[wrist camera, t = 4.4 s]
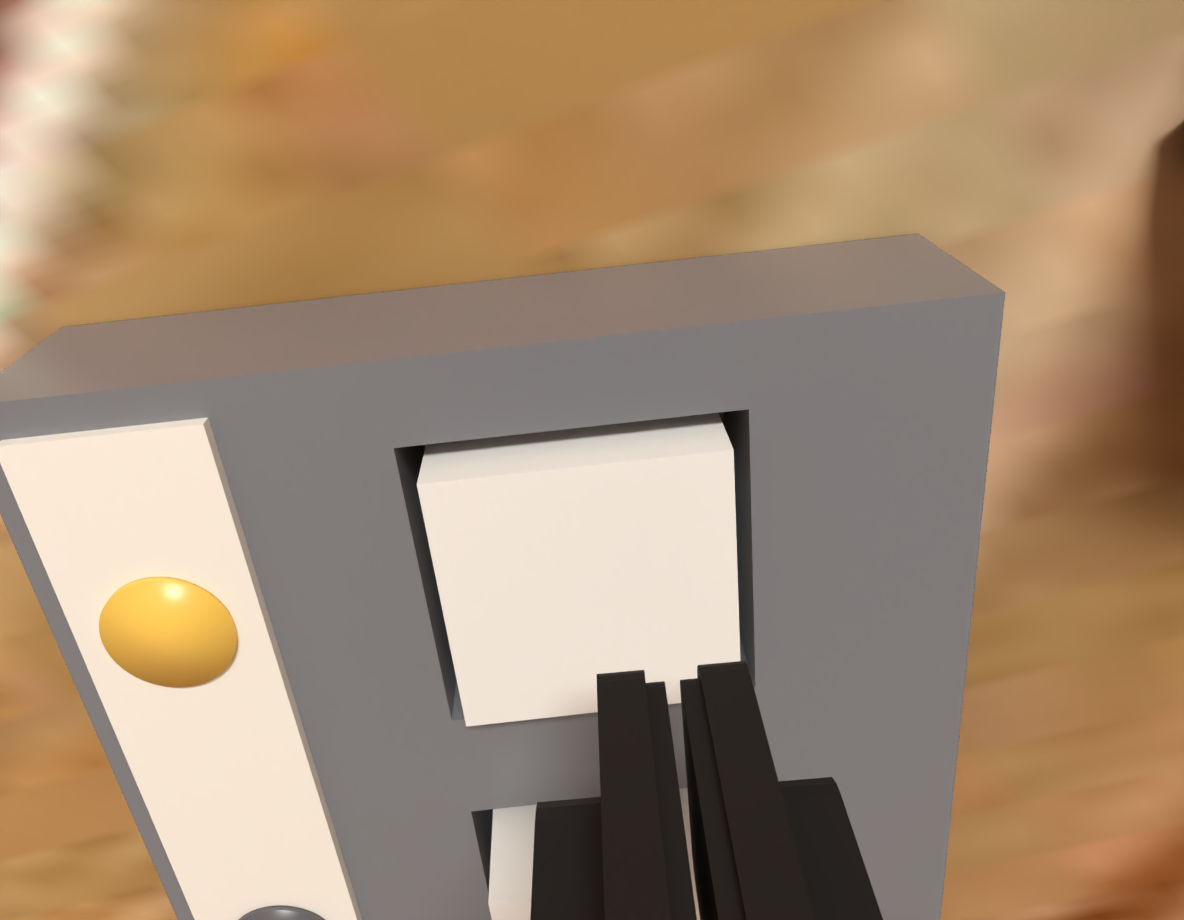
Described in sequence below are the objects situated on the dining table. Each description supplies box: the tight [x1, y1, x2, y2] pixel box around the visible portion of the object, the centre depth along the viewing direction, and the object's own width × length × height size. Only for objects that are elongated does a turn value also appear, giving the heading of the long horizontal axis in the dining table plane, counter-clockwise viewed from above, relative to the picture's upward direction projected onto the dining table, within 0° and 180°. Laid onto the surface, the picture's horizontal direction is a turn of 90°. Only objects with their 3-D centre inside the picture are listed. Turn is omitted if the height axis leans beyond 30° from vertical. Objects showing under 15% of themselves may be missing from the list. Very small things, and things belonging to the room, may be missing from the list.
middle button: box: [488, 788, 700, 920], centre depth 16 cm, size 4×4×2 cm
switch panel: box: [0, 234, 1005, 920], centre depth 18 cm, size 13×20×3 cm, turn 5°
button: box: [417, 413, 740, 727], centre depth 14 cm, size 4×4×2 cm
